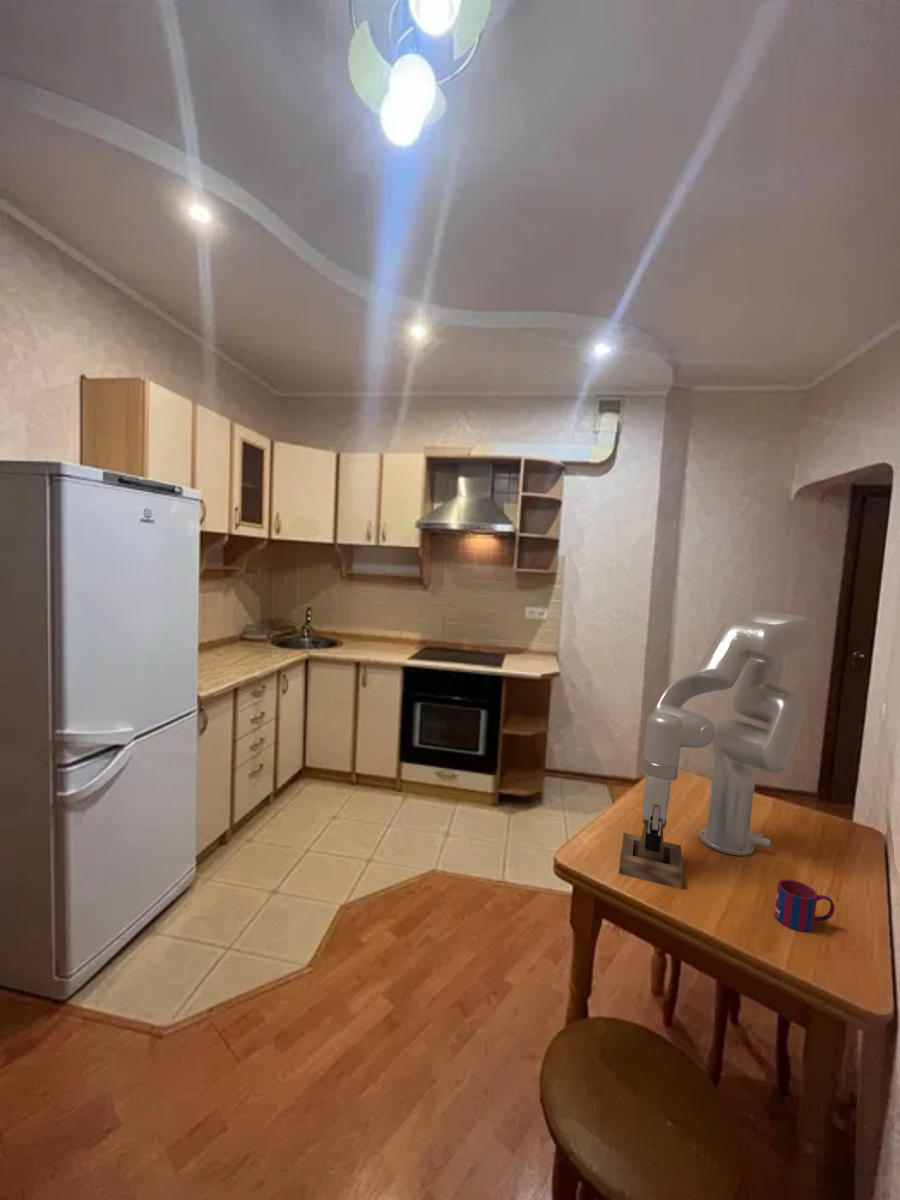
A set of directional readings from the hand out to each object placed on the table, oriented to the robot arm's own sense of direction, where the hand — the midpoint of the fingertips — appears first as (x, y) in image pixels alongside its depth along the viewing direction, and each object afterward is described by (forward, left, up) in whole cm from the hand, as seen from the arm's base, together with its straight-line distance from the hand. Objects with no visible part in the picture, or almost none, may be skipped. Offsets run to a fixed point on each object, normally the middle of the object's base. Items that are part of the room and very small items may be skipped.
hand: (652, 844), depth 129 cm
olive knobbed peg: (0, 0, -3) cm, 3 cm away
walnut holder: (0, 0, -5) cm, 5 cm away
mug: (-29, +8, -5) cm, 31 cm away
